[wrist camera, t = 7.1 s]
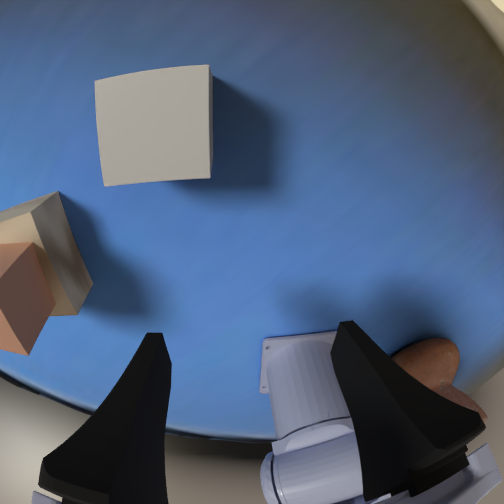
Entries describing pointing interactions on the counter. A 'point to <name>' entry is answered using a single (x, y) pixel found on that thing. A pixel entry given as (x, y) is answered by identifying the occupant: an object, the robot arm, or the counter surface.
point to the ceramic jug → (436, 369)
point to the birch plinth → (50, 249)
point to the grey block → (155, 125)
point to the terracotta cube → (22, 297)
